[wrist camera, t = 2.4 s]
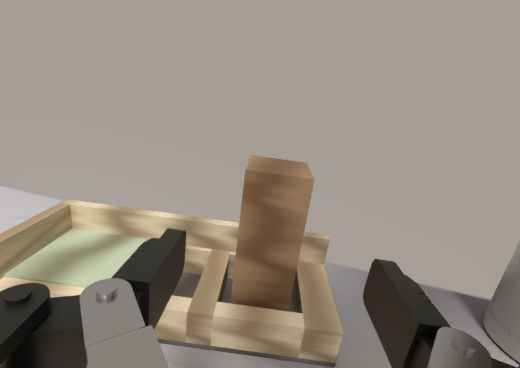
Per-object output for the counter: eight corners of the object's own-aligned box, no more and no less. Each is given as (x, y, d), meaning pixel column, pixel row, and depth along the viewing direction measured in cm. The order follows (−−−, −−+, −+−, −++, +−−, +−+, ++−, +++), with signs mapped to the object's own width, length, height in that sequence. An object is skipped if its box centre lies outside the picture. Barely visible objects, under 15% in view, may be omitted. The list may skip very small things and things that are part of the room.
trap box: (316, 284, 32) (327, 234, 30) (334, 366, 22) (353, 301, 20) (72, 251, 32) (67, 199, 30) (-14, 318, 22) (-29, 248, 20)
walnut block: (282, 292, 29) (306, 162, 25) (284, 330, 25) (314, 179, 20) (235, 285, 29) (250, 155, 25) (227, 322, 25) (245, 169, 20)
